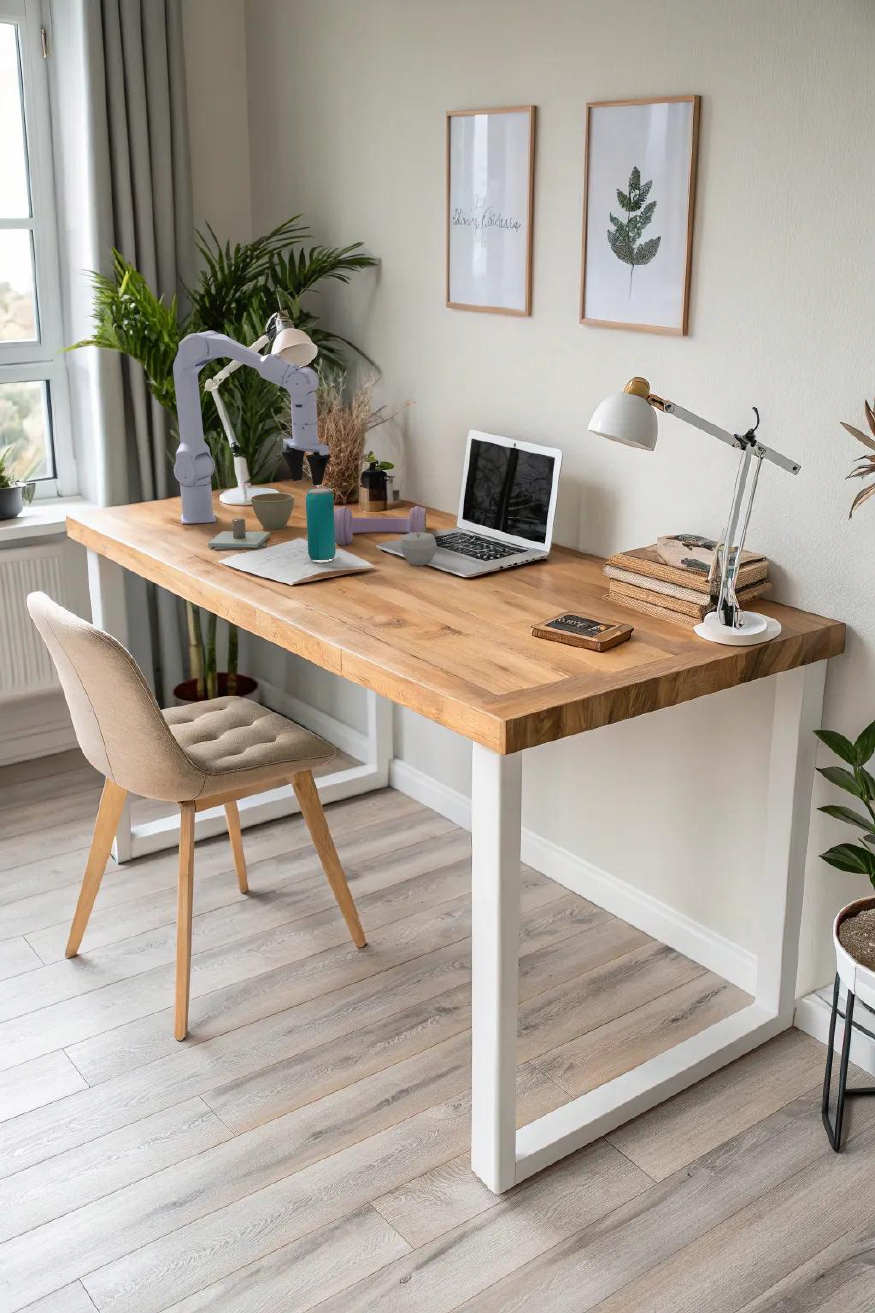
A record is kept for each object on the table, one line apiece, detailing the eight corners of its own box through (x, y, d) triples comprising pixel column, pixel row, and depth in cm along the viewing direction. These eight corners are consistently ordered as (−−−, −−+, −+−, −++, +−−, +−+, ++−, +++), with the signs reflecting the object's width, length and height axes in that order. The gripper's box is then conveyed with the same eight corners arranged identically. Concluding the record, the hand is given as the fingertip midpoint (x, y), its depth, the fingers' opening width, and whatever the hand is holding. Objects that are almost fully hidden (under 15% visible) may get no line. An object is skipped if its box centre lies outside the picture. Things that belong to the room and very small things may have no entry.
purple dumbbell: (332, 514, 268) (342, 484, 286) (334, 556, 273) (344, 524, 291) (423, 513, 268) (427, 483, 286) (424, 556, 272) (428, 524, 290)
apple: (444, 565, 257) (444, 534, 255) (411, 571, 253) (411, 539, 251) (425, 557, 263) (424, 526, 261) (392, 562, 259) (391, 531, 257)
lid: (222, 534, 283) (221, 513, 281) (270, 535, 281) (268, 514, 280) (208, 546, 272) (206, 525, 271) (257, 547, 271) (256, 525, 270)
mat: (212, 537, 282) (212, 536, 281) (261, 534, 284) (261, 533, 284) (215, 550, 270) (215, 549, 270) (266, 547, 273) (266, 545, 272)
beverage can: (338, 557, 264) (335, 487, 259) (333, 564, 259) (330, 492, 254) (311, 556, 265) (308, 486, 260) (306, 563, 259) (302, 492, 254)
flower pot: (304, 526, 291) (303, 496, 289) (271, 534, 284) (269, 503, 282) (276, 520, 298) (275, 490, 295) (243, 527, 291) (241, 497, 288)
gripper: (271, 421, 285) (274, 480, 290) (310, 428, 275) (312, 489, 280) (296, 418, 290) (298, 476, 294) (335, 424, 280) (337, 484, 284)
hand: (307, 482), depth 287 cm, fingers open, 7 cm apart
